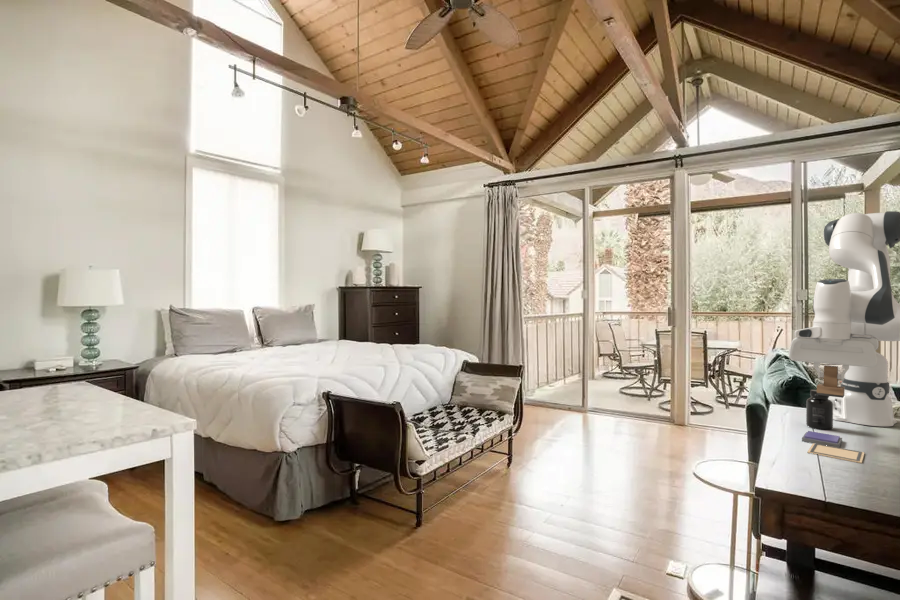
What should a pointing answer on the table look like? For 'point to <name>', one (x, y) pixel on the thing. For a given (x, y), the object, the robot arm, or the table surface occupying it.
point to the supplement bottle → (819, 411)
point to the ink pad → (822, 439)
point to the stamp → (830, 383)
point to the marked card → (837, 453)
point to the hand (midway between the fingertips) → (830, 379)
